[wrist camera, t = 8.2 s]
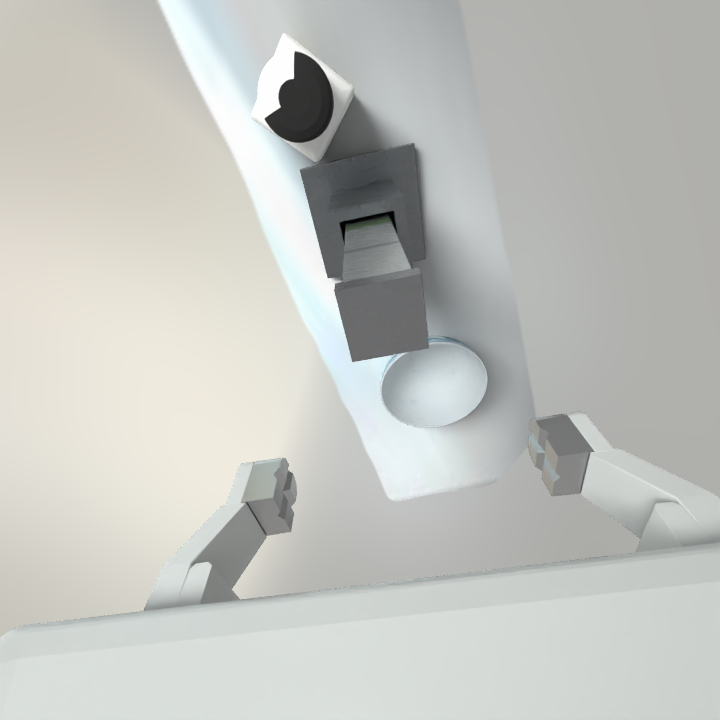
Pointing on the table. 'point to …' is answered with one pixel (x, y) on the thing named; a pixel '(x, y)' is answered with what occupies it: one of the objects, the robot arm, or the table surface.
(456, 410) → the chinaware
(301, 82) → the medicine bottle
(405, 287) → the column
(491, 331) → the table surface
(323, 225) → the stand base
